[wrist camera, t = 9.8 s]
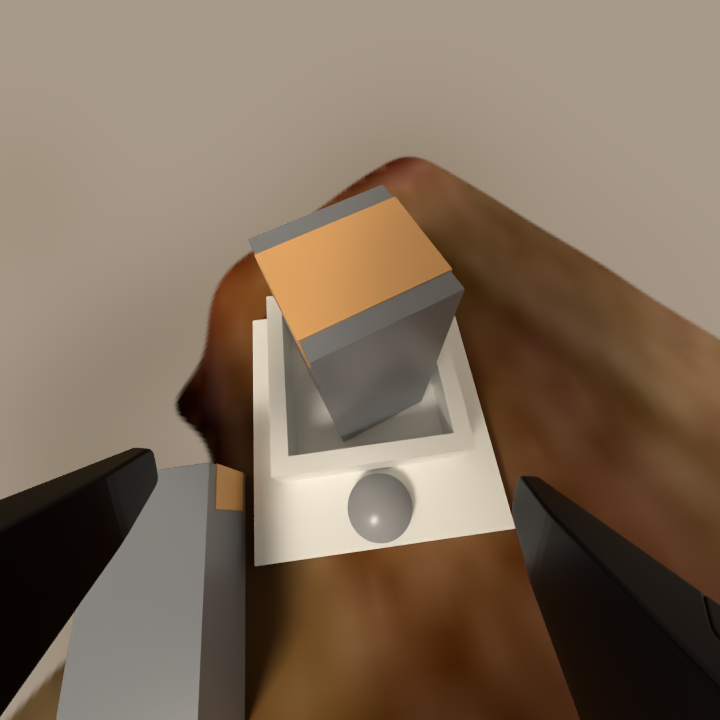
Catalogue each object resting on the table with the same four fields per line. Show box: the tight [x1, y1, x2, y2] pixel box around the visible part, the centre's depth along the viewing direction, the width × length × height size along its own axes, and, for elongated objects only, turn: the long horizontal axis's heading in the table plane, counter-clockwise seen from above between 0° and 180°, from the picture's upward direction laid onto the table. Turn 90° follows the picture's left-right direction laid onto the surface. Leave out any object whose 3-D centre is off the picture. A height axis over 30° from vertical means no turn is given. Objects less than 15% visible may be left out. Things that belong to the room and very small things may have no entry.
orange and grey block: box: [249, 185, 465, 442], centre depth 15 cm, size 5×5×10 cm
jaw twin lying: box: [56, 463, 246, 720], centre depth 15 cm, size 10×5×5 cm, turn 7°
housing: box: [253, 296, 515, 566], centre depth 18 cm, size 13×12×3 cm
